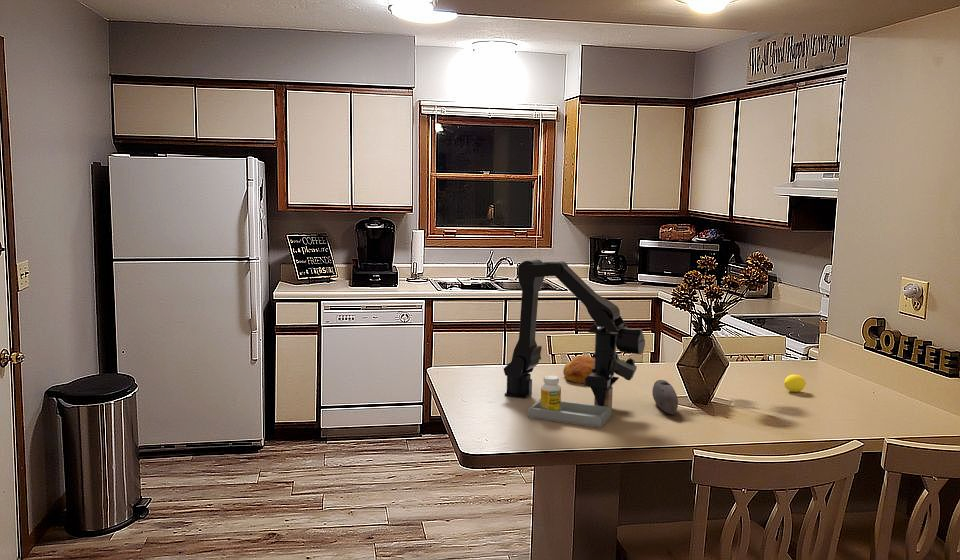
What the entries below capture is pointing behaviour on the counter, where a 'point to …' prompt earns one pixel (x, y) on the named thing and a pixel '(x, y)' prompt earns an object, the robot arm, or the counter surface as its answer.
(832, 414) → the counter surface
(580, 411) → the tray
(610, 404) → the block
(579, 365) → the croissant
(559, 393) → the supplement bottle
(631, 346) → the robot arm
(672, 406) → the perforated stone tool
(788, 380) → the lemon
